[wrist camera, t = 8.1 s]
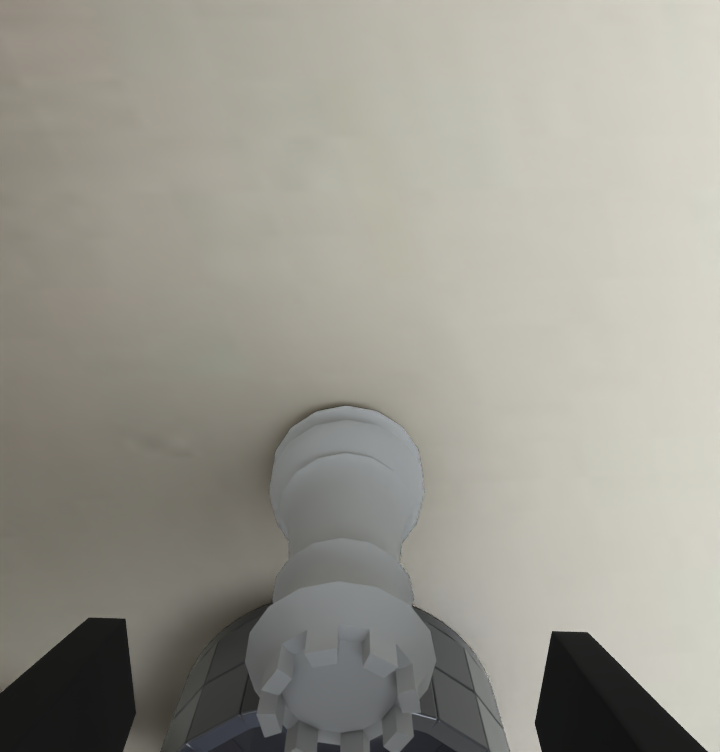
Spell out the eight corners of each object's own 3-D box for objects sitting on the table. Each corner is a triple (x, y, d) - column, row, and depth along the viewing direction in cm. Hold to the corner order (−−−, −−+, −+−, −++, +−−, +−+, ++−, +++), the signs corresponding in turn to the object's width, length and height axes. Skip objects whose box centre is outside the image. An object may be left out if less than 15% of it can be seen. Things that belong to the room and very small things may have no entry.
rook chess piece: (423, 399, 15) (494, 591, 7) (419, 532, 16) (475, 814, 9) (269, 400, 15) (176, 593, 7) (277, 533, 16) (206, 817, 8)
